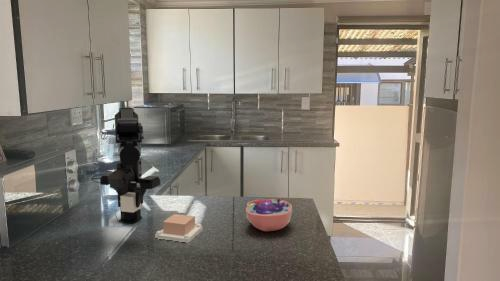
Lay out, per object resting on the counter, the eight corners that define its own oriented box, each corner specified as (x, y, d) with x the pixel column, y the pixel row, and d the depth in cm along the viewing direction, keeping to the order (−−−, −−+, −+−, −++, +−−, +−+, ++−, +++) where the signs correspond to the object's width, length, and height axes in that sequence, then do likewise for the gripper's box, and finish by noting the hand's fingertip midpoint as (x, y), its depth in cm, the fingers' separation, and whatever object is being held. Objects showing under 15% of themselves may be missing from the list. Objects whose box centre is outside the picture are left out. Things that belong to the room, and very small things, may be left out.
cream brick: (120, 211, 118) (120, 196, 118) (129, 206, 123) (128, 192, 122) (133, 212, 117) (132, 197, 116) (141, 208, 121) (140, 193, 121)
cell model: (299, 222, 140) (300, 193, 138) (281, 242, 122) (281, 209, 120) (258, 216, 147) (258, 188, 145) (235, 233, 129) (235, 202, 127)
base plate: (155, 238, 124) (154, 223, 123) (172, 226, 135) (171, 211, 134) (187, 243, 120) (187, 227, 120) (202, 229, 132) (202, 215, 131)
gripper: (86, 161, 112) (89, 211, 115) (141, 166, 107) (142, 217, 110) (110, 155, 123) (112, 201, 125) (160, 159, 118) (161, 206, 120)
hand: (131, 206), depth 120 cm, fingers closed on cream brick, 4 cm apart
